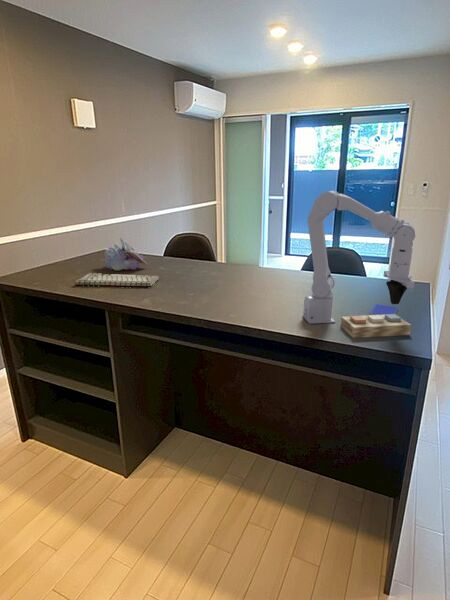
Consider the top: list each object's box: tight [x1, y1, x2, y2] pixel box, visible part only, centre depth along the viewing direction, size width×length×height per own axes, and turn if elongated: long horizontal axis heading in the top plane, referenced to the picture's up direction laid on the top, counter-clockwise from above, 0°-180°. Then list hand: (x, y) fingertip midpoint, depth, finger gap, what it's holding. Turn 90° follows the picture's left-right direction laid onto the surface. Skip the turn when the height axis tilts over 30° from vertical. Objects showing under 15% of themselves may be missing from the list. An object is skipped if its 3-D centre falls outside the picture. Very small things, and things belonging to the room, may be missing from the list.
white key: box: [367, 314, 384, 323], centre depth 127 cm, size 4×4×2 cm
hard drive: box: [368, 304, 399, 315], centre depth 144 cm, size 2×8×12 cm
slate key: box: [384, 313, 402, 322], centre depth 127 cm, size 4×4×2 cm
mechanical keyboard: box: [73, 272, 160, 289], centre depth 185 cm, size 38×19×3 cm, turn 87°
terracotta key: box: [350, 315, 366, 324], centre depth 126 cm, size 4×4×2 cm
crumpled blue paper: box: [104, 237, 148, 272], centre depth 211 cm, size 20×22×18 cm
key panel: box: [340, 314, 412, 339], centre depth 127 cm, size 19×10×4 cm, turn 97°
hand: (394, 303), depth 126 cm, fingers closed
